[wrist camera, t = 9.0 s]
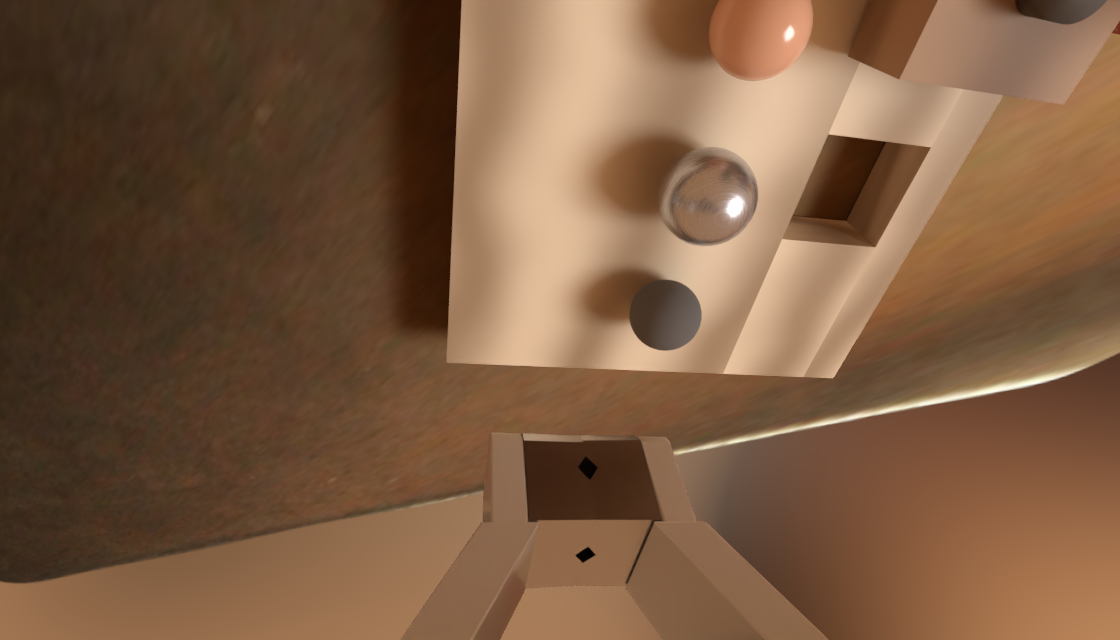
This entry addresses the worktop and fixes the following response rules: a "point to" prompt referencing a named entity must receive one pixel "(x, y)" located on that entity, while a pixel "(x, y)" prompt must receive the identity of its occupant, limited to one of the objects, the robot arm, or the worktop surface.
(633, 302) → the black rubber ball
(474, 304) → the board
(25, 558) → the worktop surface
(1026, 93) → the cover
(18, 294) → the worktop surface
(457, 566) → the robot arm
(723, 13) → the terracotta ball
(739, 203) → the steel ball
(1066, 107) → the worktop surface
